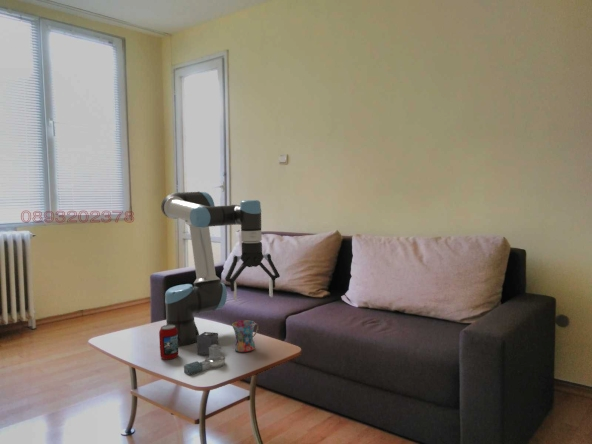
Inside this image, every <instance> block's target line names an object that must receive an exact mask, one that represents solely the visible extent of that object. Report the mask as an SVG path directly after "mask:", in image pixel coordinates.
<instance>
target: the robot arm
mask: <svg viewBox="0 0 592 444" xmlns="http://www.w3.org/2000/svg"><path fill="white" fill-rule="evenodd" d="M160 210H161V212H162V214H163V215H164V216H165V217H166V218H169V219H173V220H176V219H180V220H184V221H185V224H186V225H188V227H189V232H190V240H191V245H192V254H193V255H192V257H193V263H194V269H195V276H196V279H195V280H194V282H193V284H191V283H185V284H179V285H175V286H172V287H169V288H168V289H167V290H166V291H165V295H164V297H165V299H164V303H165V317H166V318H165V320H166V324H165V325H175V327H176V329H177V334H178V347H181V346H188V345H192V344H194V343H197V336H199V335H200V332H199V330H198V327H197V324H196V322H195V315H196V314H201V313H206V312H212V311H213V312H214V311H216V310H220V309H223V307H224V306H225V305H226V302H227V299H228V290H227V287H226V284H225V283H223V282H221V278H220V277H218V276H217V275H216V274H217V273H216V268H215V267H216V266H215V261H214V253H213V245H212V240H211V239H212V238H211V231H210V227H221V226H223V227H224V226H234V225H235V226H236V225H238V226H239V225H240V231H241V232H240V233H241V234H240V238H241V255H235V254H234V255H233V258H232V263H231V265H230V266H229V269H228V271H227V274H226V276H225V278H224V280H225V281H226V283H227V282H228V283H229V284H230V285H229V286H230V292H232V293H233V300H234V302H235V301H237V299H238V296H237V292H238V291H237V282H236V280H237V279H238V277H240V275H241V274H242V272H243V271H245V269H246V268H247V267H248V268H252V267H254V268H257V267H258V266H259V267H260V268H261V269H262V270H263V272H265V273H266V274H267V276H269V278H268V289H269V290H268V293H269V294H268V296H269V297H270V298H273V297H274V293H273V291H274V290H273V289H275V288H276V279H277V278H278V279H279V278H280V276H281V275H280V273H279V271H278V269H277V268H276V265H275V264H274V262H273V260H272V256H271V254H270V253H268V252H267V253H265V254H263V244H262V240H263V238H262V207H261V201H260V200H258V199H247V200H246V199H245V200H241V201H240V203H239V205H238V204H231V205H217V206H216V205H215V201H214V199H213V197H212V195H210V194H209V193H208V192H205V191H204V192H203V191H194V192H193V191H190V192H189V191H186V192H185V191H184V192H179V191H178V192H172V193H170V194H168V195H166V196H165V197H164V198H163V199H162V201H161V204H160ZM263 259H264V260H265V261H267V262H268V264H269V266H270V268H271V270H272V272H273V273H274V274H273V273H272V272H271V271H270V270H269V268H267V267H266V265H264V264H263V262H262V261H264V260H263ZM240 260H241V261H242V263H241V264H240V266H239V268H238V269H237V270H236V272H235V273H234V271H235V269H236V266H237V265H238V262H240ZM233 273H234V274H233Z"/></svg>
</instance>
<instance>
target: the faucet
mask: <svg viewBox="0 0 592 444" xmlns="http://www.w3.org/2000/svg"><path fill="white" fill-rule="evenodd" d="M225 365H226V358H225V357H224V356H223V355H221V347H220V346H218V345H216V344H214V345H211V347H209V356H208V357H207V358H205V360H203V361H200V362H199V360H196V361H193V362H190V363H187V364H183V372H184V373H185V374H186V375H188V376H192V375H195V374H198V373H202V372H204V371H206V370H210V369H218V368H222V367H224V366H225Z"/></svg>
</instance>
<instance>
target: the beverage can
mask: <svg viewBox="0 0 592 444" xmlns="http://www.w3.org/2000/svg"><path fill="white" fill-rule="evenodd" d="M158 335H159V337H158V339H159V351H160V352H159V353H160V358H162V359H163V360H172V359H173V360H174V359H175V358H177V356H179V346H178V334H177V329H176V327H175V325H166V324H165V325H162V326H160V329H159V333H158Z"/></svg>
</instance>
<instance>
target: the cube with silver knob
mask: <svg viewBox="0 0 592 444" xmlns="http://www.w3.org/2000/svg"><path fill="white" fill-rule="evenodd" d="M214 344H216V345H218V346H219V333H218V332H213V331H212V332H210V331H204V332H202V333H200V334H199V336H197V342H196V346H197V355H198V356H206V357H207V356H208V357H209V347H211V345H214ZM219 347H220V346H219Z"/></svg>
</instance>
